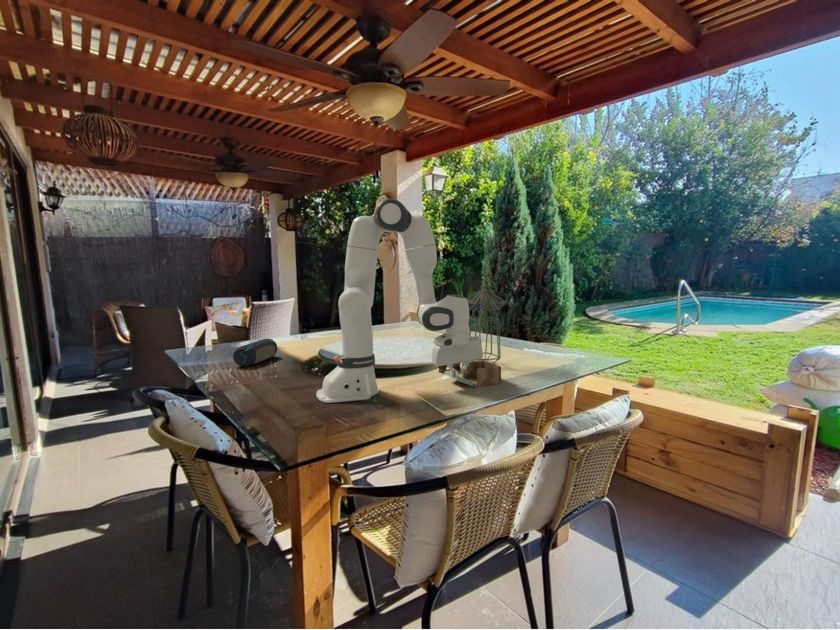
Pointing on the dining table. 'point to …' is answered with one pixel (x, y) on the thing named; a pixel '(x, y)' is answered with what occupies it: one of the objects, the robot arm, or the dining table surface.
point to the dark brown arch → (455, 366)
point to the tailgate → (461, 379)
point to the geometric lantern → (489, 294)
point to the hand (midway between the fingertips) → (458, 374)
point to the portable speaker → (255, 352)
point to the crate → (482, 373)
